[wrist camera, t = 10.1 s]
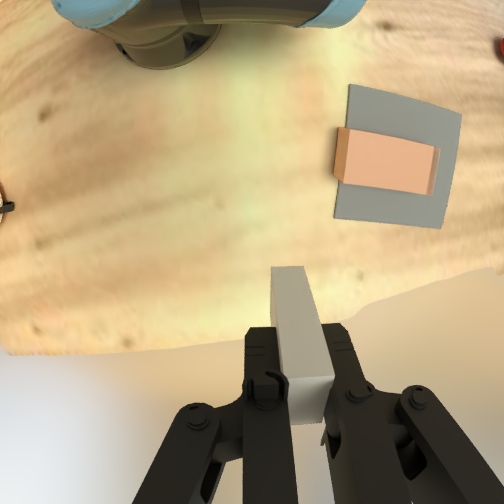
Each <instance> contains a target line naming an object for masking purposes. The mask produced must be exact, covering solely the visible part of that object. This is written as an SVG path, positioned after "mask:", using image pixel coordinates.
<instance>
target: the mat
mask: <svg viewBox="0 0 504 504" xmlns="http://www.w3.org/2000/svg"><path fill="white" fill-rule="evenodd" d="M461 118H462V114H459V113H456V112H453V111H450V110H448V109H445V108H442V107H439V106H436V105H432V104H429V103H426V102H423V101H419V100H416V99H412V98H409V97H405V96H402V95H398V94H394V93H390V92H386V91H382V90H377V89H373V88H368V87H364V86H359V85H354V84H349V95H348V106H347V117H346V127H345V128H349V129H355V130H361V131H367V132H373V133H378V134H383V135H388V136H393V137H398V138H402V139H407V140H411V141H416V142H420V143H424V144H427V145H431V146H434V147H438V148H441V150H440V156H439V162H438V168H437V174H436V179H435V184H434V189H433V194H432V196H430V195H424V194H418V193H412V192H405V191H399V190H392V189H385V188H377V187H370V186H362V185H354V184H345V183H342V182H341V181H340V180H339V184H338V192H337V198H336V205H335V212H334V219H345V220H357V221H368V222H378V223H389V224H399V225H408V226H418V227H427V228H435V229H441V227H442V223H443V220H444V216H445V211H446V207H447V203H448V198H449V194H450V189H451V184H452V179H453V174H454V168H455V162H456V156H457V150H458V143H459V136H460V127H461Z"/></svg>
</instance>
